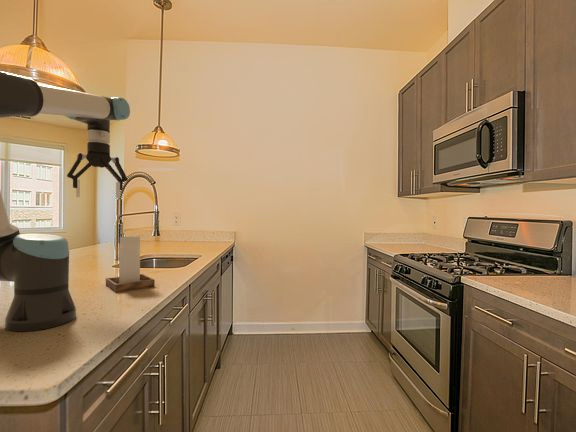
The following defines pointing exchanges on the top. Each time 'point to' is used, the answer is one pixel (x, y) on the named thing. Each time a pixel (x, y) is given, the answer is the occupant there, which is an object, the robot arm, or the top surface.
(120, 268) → the milk carton
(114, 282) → the tray
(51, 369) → the top surface
